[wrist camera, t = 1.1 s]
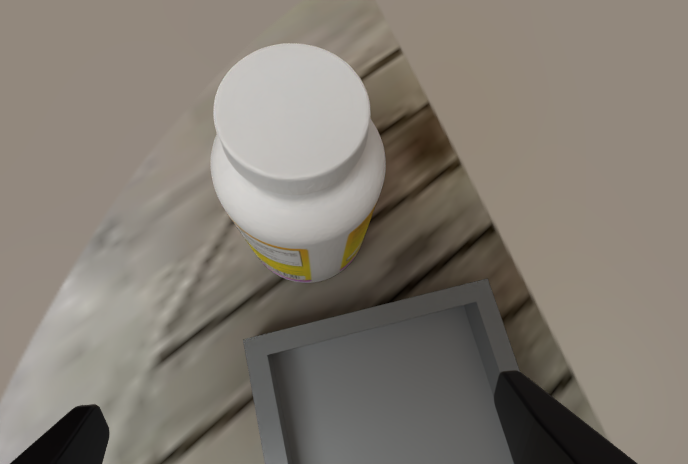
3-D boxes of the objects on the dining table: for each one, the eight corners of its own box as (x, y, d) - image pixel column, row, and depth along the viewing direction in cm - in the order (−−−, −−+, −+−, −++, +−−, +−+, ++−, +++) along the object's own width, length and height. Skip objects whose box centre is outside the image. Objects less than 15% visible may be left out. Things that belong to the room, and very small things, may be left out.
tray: (553, 534, 20) (584, 558, 18) (302, 620, 19) (299, 659, 16) (470, 285, 24) (487, 278, 21) (251, 340, 22) (243, 339, 20)
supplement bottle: (345, 168, 25) (369, -2, 13) (376, 267, 24) (438, 179, 12) (239, 193, 25) (160, 37, 12) (265, 298, 23) (202, 239, 11)
